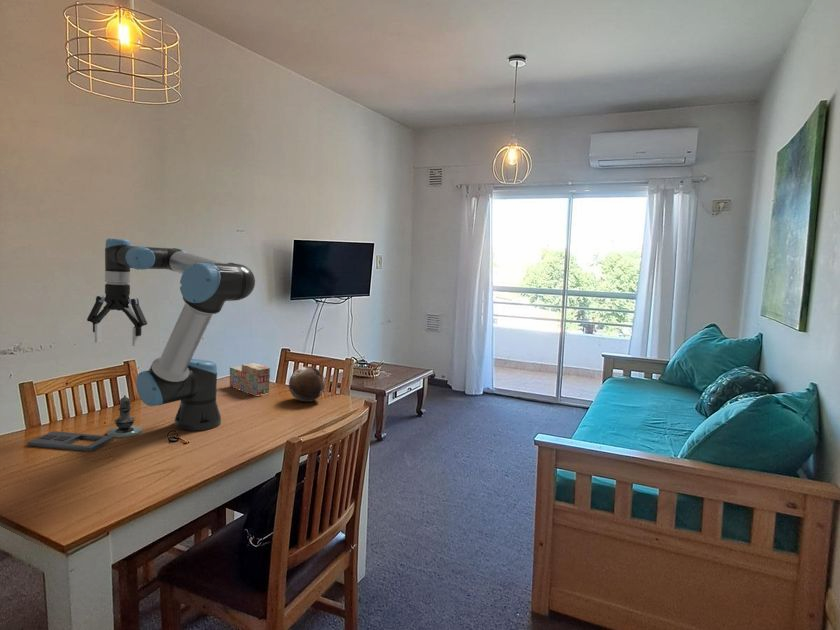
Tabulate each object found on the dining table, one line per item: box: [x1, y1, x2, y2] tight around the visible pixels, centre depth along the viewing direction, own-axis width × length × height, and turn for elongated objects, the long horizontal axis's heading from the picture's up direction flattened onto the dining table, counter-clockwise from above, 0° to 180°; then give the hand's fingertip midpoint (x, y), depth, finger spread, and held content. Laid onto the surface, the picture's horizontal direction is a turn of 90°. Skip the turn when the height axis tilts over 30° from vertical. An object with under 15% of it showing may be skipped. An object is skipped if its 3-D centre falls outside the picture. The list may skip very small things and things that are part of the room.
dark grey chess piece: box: [114, 395, 136, 433], centre depth 169 cm, size 6×6×12 cm
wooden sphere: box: [288, 366, 326, 402], centre depth 219 cm, size 15×15×15 cm
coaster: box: [106, 424, 143, 439], centre depth 170 cm, size 10×10×1 cm
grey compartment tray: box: [27, 430, 114, 453], centre depth 158 cm, size 20×10×1 cm, turn 86°
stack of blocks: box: [229, 362, 271, 395], centre depth 230 cm, size 21×6×12 cm, turn 52°
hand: (117, 343), depth 181 cm, fingers open, 13 cm apart
